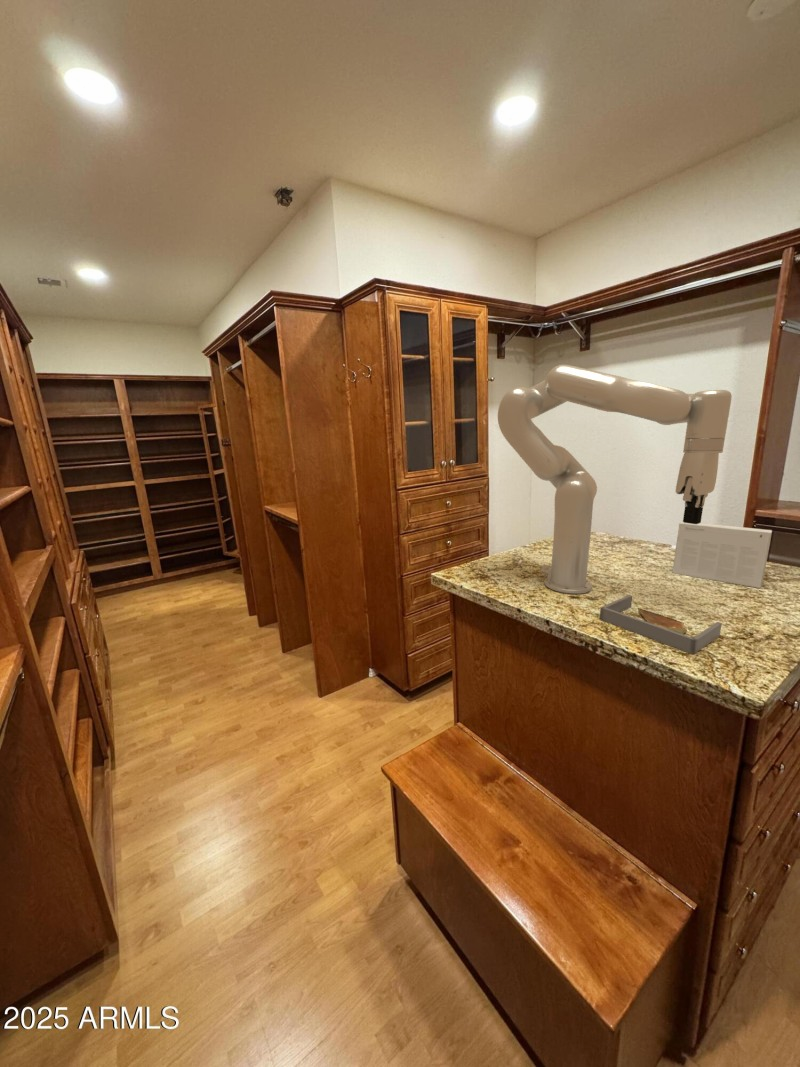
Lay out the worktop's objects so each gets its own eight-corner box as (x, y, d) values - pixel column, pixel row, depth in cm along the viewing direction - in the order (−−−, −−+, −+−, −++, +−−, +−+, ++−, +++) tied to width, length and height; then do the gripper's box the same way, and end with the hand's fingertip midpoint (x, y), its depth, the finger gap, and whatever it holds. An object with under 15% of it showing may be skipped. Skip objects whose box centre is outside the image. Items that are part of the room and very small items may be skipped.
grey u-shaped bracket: (599, 619, 97) (600, 607, 96) (627, 605, 104) (629, 594, 103) (693, 654, 81) (695, 640, 80) (719, 635, 88) (721, 623, 87)
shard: (636, 613, 101) (637, 606, 100) (671, 615, 99) (672, 608, 98) (652, 634, 90) (653, 626, 90) (691, 637, 89) (692, 629, 88)
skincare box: (762, 583, 116) (773, 529, 112) (761, 589, 112) (772, 533, 109) (674, 568, 130) (682, 520, 126) (671, 573, 126) (678, 523, 123)
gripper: (698, 445, 102) (687, 516, 107) (670, 447, 94) (660, 524, 99) (735, 445, 96) (722, 521, 101) (708, 447, 88) (695, 530, 93)
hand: (691, 522), depth 100 cm, fingers closed
